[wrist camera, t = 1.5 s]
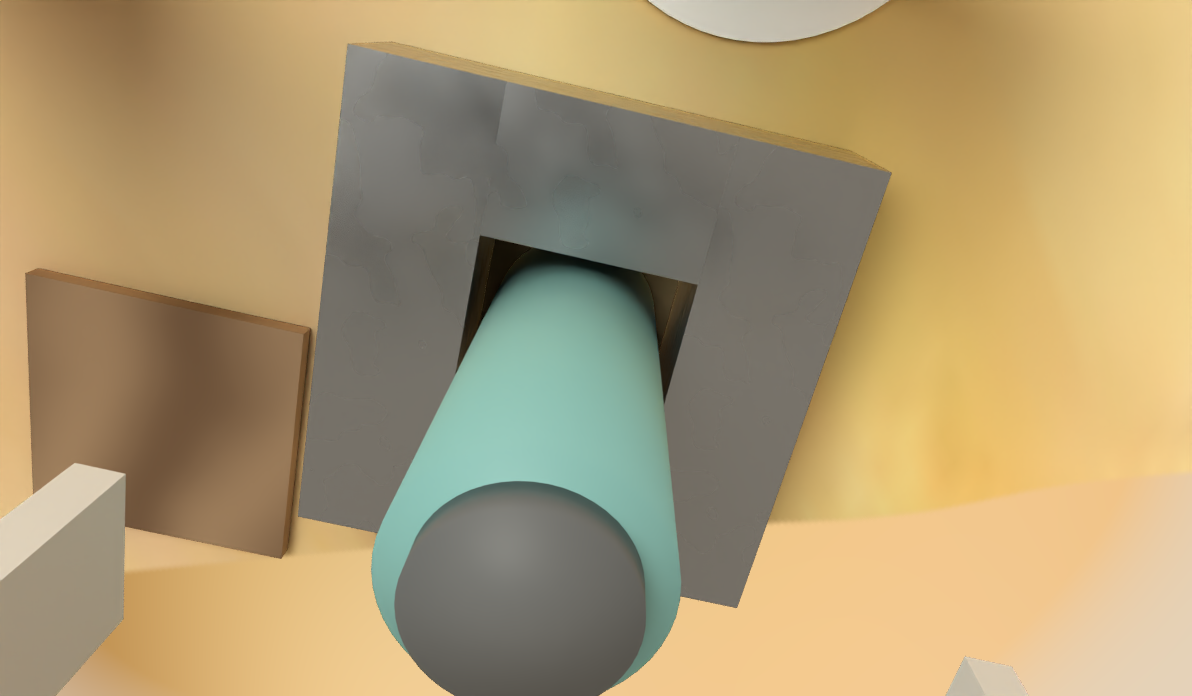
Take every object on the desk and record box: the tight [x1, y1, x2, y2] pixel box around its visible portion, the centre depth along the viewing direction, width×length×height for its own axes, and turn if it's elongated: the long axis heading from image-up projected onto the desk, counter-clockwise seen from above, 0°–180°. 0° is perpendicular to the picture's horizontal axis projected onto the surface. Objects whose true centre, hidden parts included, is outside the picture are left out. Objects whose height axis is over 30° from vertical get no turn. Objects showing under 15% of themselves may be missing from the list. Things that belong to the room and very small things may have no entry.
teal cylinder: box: [371, 247, 681, 696], centre depth 20 cm, size 5×5×15 cm
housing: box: [298, 42, 891, 608], centre depth 25 cm, size 14×14×4 cm
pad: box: [25, 268, 310, 559], centre depth 28 cm, size 9×9×1 cm
